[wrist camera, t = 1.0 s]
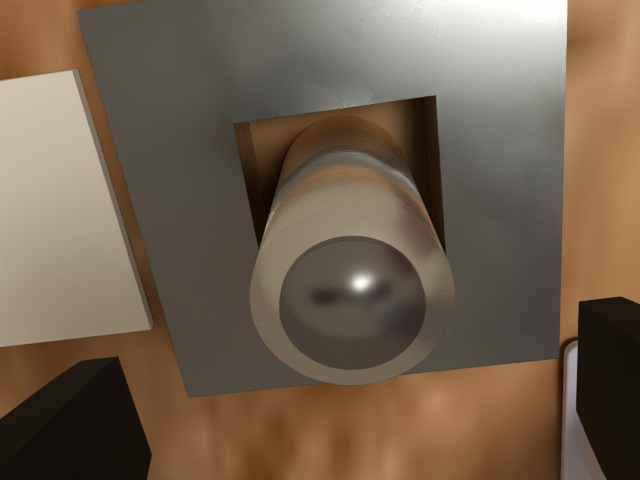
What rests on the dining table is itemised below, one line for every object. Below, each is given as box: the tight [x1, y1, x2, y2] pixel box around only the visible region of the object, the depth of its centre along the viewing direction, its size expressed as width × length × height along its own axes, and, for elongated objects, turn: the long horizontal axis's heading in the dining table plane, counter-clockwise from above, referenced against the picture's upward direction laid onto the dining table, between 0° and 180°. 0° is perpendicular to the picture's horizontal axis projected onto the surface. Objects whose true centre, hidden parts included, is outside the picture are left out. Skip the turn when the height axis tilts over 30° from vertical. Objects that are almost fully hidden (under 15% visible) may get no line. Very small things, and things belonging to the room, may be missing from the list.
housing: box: [76, 0, 567, 398], centre depth 17 cm, size 12×12×2 cm
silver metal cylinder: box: [250, 116, 455, 385], centre depth 15 cm, size 4×4×8 cm
